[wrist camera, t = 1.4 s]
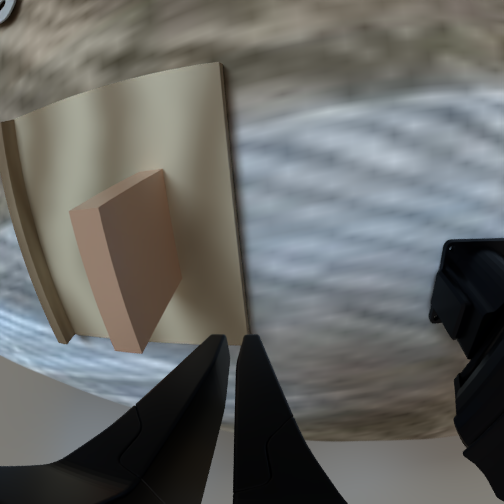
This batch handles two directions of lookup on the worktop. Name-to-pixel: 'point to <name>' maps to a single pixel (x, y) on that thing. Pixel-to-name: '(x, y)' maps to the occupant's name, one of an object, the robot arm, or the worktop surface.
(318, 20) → the worktop surface
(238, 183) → the worktop surface
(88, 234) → the tile
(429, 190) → the worktop surface
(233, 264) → the board
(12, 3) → the kitchen cleaver
